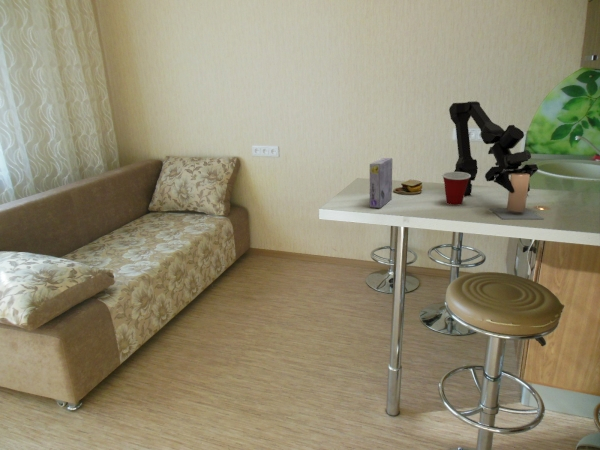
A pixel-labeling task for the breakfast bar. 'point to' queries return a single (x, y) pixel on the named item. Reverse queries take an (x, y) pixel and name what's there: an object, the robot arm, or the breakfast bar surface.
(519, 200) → the terracotta canister
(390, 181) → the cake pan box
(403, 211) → the breakfast bar surface
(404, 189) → the toy sandwich meal
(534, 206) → the copper marker
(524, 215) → the pad
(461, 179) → the plastic cup
